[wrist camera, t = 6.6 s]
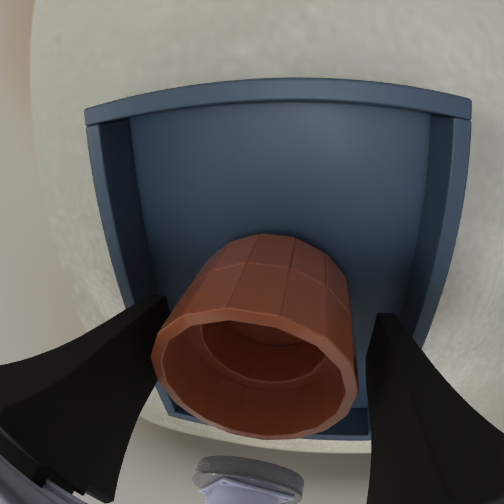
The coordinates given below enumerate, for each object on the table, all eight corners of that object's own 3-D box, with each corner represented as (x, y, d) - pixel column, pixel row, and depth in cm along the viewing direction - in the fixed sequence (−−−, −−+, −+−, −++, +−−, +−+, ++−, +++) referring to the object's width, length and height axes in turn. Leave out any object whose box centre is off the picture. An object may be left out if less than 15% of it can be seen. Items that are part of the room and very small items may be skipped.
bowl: (301, 367, 13) (289, 453, 9) (186, 313, 13) (140, 391, 9) (379, 275, 10) (403, 370, 6) (235, 199, 10) (179, 265, 6)
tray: (374, 406, 14) (375, 440, 12) (182, 386, 16) (168, 416, 14) (441, 99, 7) (472, 99, 5) (122, 104, 10) (83, 108, 8)
